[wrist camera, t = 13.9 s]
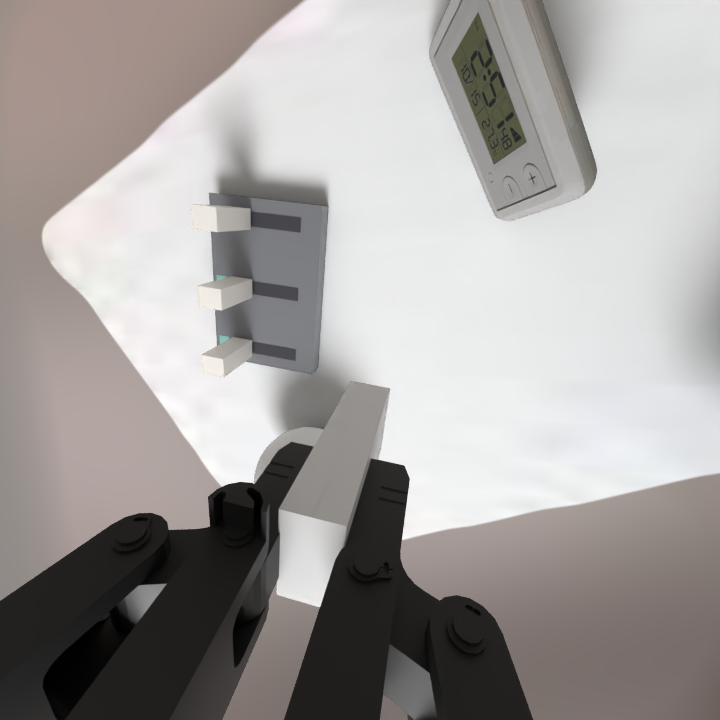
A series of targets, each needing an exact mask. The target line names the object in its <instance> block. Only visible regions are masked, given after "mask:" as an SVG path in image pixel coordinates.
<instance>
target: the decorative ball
mask: <svg viewBox="0 0 720 720" xmlns="http://www.w3.org/2000/svg"><path fill="white" fill-rule="evenodd" d="M323 430H324V429H320V428H315V427H302V428H296V429H293V430H290V431H288V432H285V433H284V434H282V435H280V436H279V437H277V438H276V439H275V440H274V441H272V442H271V443H270V444H269V446H268V447H267V448H266V449H265V451H264V452H263V454H262V455H261V457H260V459H259V461H258V464H257V467H256V471H255V476H254V484H255V482H256V481H257V480H258V478H259V477H260V475H261V474H262V473H263V472H264V470H265V468H266V467H267V465H268V464H270V461H271V460H272V458H273V457H274V456H275V454H276V453H277V451H278V450H279V449H281V448H282V447H284V446H286V445H287V444H289V443H290V442H295V443H300V444H304V445H309V446H313V447H314V446H315V444H316V442H317V440H318V438H319V437H320V435H321V433H322V431H323Z"/></svg>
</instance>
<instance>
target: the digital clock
mask: <svg viewBox="0 0 720 720" xmlns="http://www.w3.org/2000/svg"><path fill="white" fill-rule="evenodd" d="M429 56H430V60H431V63H432V66H433V68H434V71H435V73H436V76H437V78H438V81H439V83H440V86H441V88H442V91H443V93H444V96H445V98H446V100H447V103H448V105H449V108H450V110H451V112H452V115H453V117H454V120H455V122H456V124H457V127H458V129H459V132H460V134H461V136H462V139H463V141H464V144H465V146H466V149H467V151H468V153H469V156H470V158H471V161H472V163H473V165H474V168H475V170H476V173H477V175H478V177H479V180H480V182H481V185H482V187H483V189H484V192H485V194H486V197H487V199H488V201H489V204H490V206H491V208H492V210H493V213H494V214H495V216H496V217H497V218H499V219H502V220H507V221H513V220H516V219H519V218H522V217H525V216H528V215H531V214H534V213H537V212H540V211H543V210H546V209H549V208H552V207H555V206H558V205H561V204H564V203H567V202H570V201H573V200H575V199H577V198H579V197H581V196H583V195H584V194H585V193H587V192H588V191H589V190H590V189H591V187H592V186H593V184H594V181H595V179H596V174H597V167H596V163H595V159H594V156H593V153H592V150H591V147H590V143H589V140H588V137H587V134H586V131H585V128H584V125H583V122H582V119H581V116H580V113H579V110H578V107H577V104H576V101H575V98H574V95H573V92H572V89H571V86H570V83H569V80H568V77H567V74H566V71H565V68H564V65H563V62H562V59H561V56H560V53H559V50H558V47H557V44H556V41H555V38H554V35H553V32H552V29H551V26H550V23H549V20H548V17H547V14H546V11H545V8H544V5H543V2H542V0H450V2H449V4H448V7H447V9H446V11H445V13H444V16H443V18H442V20H441V22H440V24H439V27H438V29H437V31H436V33H435V36H434V38H433V40H432V43H431V45H430V50H429Z"/></svg>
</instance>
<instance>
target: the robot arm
mask: <svg viewBox="0 0 720 720" xmlns="http://www.w3.org/2000/svg"><path fill="white" fill-rule="evenodd" d="M389 392H390V388H385V387H380V386H375V385H369V384H364V383H359V382H354V381H351V382H350V383H349V385H348V387H347V389H346V391H345V392H344V394H343V396H342V398H341V399H340V401H339V403H338V405H337V407H336V408H335V410H334V412H333V414H332V415H331V417H330V419H329V421H328V423H327V424H326V426H325V428H324V430H323V431H322V433H321V435H320V437H319V438H318V440H317V442H316V444H315V446H314V447H313V446H309V445H304V444H300V443H295V442H290V443H289V444H287V445H286V446H284V447H282V448H281V449H279V450H278V451H277V453H276V454H275V456H274V457H273V458H272V460H271V461H270V464H268V465H267V467H266V468H265V470H264V472H263V473H262V474H261V475H260V477H259V478H258V480H257V481H256V482H255V484H253V483H246V482H238V483H232V484H228V485H225V486H223V487H221V488H219V489H217V490H216V491H214V493H212V494H211V495H210V496H209V497H208V502H209V516H210V527H208V528H202V529H191V530H190V529H188V530H168V524H167V522H166V521H165V520H164V519H163V517H161V516H159V515H156V514H153V513H139V514H136V515H132V516H128V517H125V518H123V519H121V520H119V521H118V522H116V523H114V524H112V525H110V526H109V527H108V528H106V529H105V530H103V531H102V532H100V533H99V534H97V535H96V536H94V537H93V538H91V539H90V540H89V541H87V542H86V543H84V544H83V545H81V546H80V547H78V548H77V549H76V550H74V551H73V552H71V553H70V554H68V555H67V556H65V557H64V558H62V559H61V560H59V561H58V562H56V563H55V564H53V565H52V566H51V567H49V568H48V569H46V570H45V571H43V572H42V573H40V574H39V575H38V576H36V577H35V578H33V579H32V580H30V581H29V582H27V583H26V584H24V585H23V586H21V587H20V588H18V589H17V590H16V591H14V592H13V593H11V594H10V595H8V596H7V597H6V598H4V599H3V600H1V601H0V720H222V719H223V717H224V714H225V712H226V710H227V707H228V705H229V703H230V701H231V698H232V696H233V694H234V691H235V689H236V687H237V685H238V682H239V680H240V678H241V675H242V673H243V671H244V669H245V666H246V664H247V662H248V659H249V657H250V654H251V653H252V650H253V648H254V646H255V643H256V641H257V639H258V637H259V634H260V632H261V630H262V628H263V625H264V623H265V621H266V617H267V613H268V609H269V608H268V607H269V598H270V595H271V593H272V591H273V589H274V587H275V584H276V582H277V595H280V596H283V597H287V598H290V599H293V600H297V601H300V602H304V603H307V604H310V605H314V606H317V607H320V609H319V612H318V615H317V619H316V622H315V625H314V628H313V631H312V634H311V637H310V641H309V643H308V647H307V650H306V653H305V656H304V659H303V662H302V665H301V669H300V672H299V675H298V678H297V681H296V684H295V687H294V690H293V693H292V697H291V700H290V703H289V706H288V709H287V712H286V715H285V719H284V720H380V713H381V706H382V697H383V694H384V695H385V696H386V697H387V698H388V699H390V700H391V701H392V702H394V703H395V704H396V705H397V706H398V707H400V708H401V709H402V710H403V711H404V712H406V713H407V715H408V720H533V718H532V715H531V712H530V710H529V707H528V704H527V701H526V698H525V696H524V693H523V690H522V687H521V684H520V681H519V679H518V676H517V673H516V670H515V667H514V664H513V662H512V659H511V656H510V653H509V650H508V648H507V645H506V642H505V639H504V636H503V633H502V632H501V630H500V628H499V626H498V624H497V622H496V620H495V618H494V617H493V616H492V615H491V614H490V613H489V612H488V611H487V610H486V609H485V608H484V607H483V606H482V605H480V604H478V603H477V602H475V601H473V600H472V599H470V598H466V597H461V596H457V595H456V596H450V597H445V598H443V599H442V600H440V601H439V600H438V599H436V598H434V597H433V596H431V595H429V594H428V593H426V592H425V591H423V590H422V589H421V588H419V587H418V586H417V585H415V584H414V583H413V581H411V579H410V578H409V577H408V576H407V574H406V572H405V570H404V568H403V566H402V563H401V559H400V549H401V541H402V534H403V526H404V518H405V511H406V503H407V495H408V488H409V480H410V478H409V476H408V474H407V471H406V469H405V466H403V465H399V464H394V463H390V462H385V461H381V460H378V457H379V454H380V450H381V444H382V438H383V431H384V425H385V418H386V412H387V405H388V399H389Z"/></svg>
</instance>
